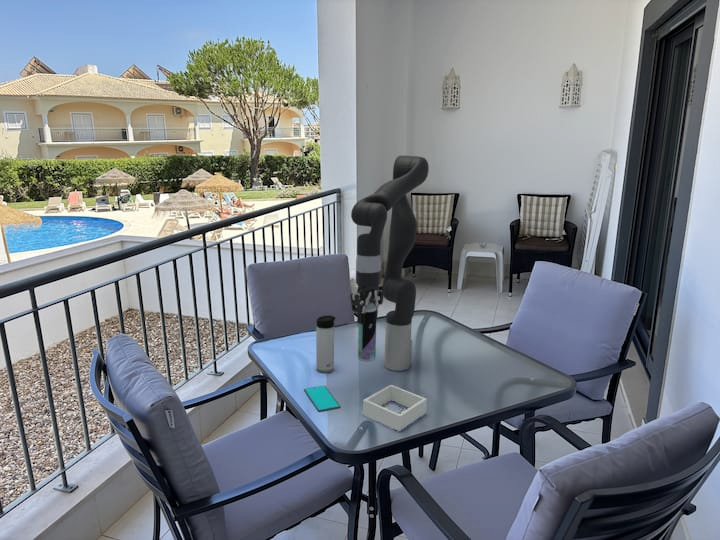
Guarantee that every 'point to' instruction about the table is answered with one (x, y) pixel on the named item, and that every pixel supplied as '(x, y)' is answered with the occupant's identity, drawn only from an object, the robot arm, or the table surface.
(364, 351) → the spray can
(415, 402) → the white square tray
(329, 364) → the travel mug
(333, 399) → the smartphone
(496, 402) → the table surface
